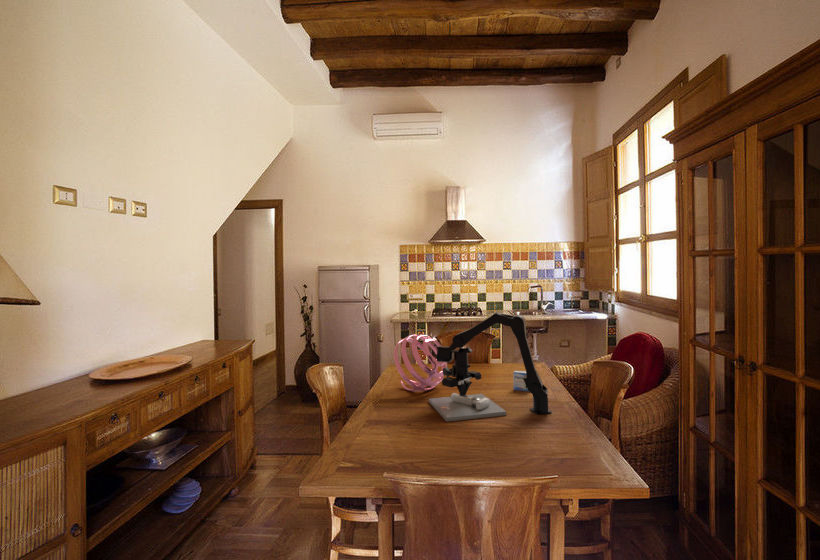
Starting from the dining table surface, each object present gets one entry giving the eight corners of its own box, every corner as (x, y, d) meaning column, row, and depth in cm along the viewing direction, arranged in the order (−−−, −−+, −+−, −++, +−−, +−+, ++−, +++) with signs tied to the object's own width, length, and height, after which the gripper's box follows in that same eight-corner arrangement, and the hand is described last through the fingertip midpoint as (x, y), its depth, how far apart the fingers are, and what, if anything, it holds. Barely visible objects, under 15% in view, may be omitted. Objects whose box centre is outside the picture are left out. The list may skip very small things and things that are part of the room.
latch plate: (506, 415, 169) (506, 411, 169) (446, 421, 164) (446, 417, 164) (481, 396, 194) (481, 393, 194) (428, 402, 188) (428, 398, 188)
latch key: (489, 405, 176) (489, 398, 176) (480, 410, 171) (480, 402, 171) (457, 398, 186) (457, 391, 186) (448, 402, 181) (447, 395, 181)
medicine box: (513, 390, 204) (512, 372, 203) (515, 387, 208) (515, 369, 207) (530, 391, 200) (529, 373, 200) (532, 389, 204) (531, 371, 204)
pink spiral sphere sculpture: (373, 348, 214) (408, 320, 200) (411, 353, 233) (446, 328, 219) (387, 401, 199) (426, 375, 185) (427, 401, 218) (465, 378, 204)
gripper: (463, 356, 195) (464, 390, 195) (432, 363, 183) (434, 399, 184) (481, 359, 186) (482, 395, 187) (450, 367, 174) (452, 405, 175)
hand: (462, 398), depth 183 cm, fingers closed
